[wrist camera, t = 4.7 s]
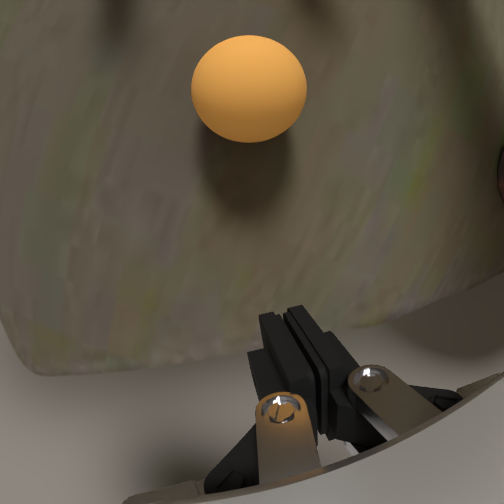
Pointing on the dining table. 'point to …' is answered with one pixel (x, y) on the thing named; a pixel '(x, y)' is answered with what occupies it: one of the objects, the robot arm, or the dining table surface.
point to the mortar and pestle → (501, 175)
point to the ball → (248, 89)
